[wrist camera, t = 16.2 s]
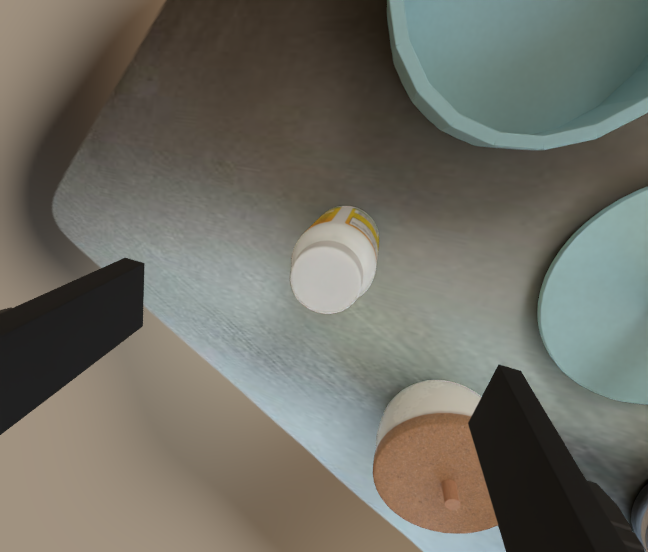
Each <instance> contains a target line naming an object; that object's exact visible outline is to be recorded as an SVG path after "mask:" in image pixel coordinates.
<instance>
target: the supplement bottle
mask: <svg viewBox="0 0 648 552" xmlns="http://www.w3.org/2000/svg"><path fill="white" fill-rule="evenodd" d="M378 248H379V233H378V229H377V226H376V224H375V222H374V221H373V219H372V218H371V217H370V216H369V215H368V214H367V213H366V212H364V211H363V210H361V209H359V208H356V207H352V206H338V207H334V208H332V209H330V210H328V211H326V212H325V213H324V214H323V215H321V216H320V217H319V218H318V219H317V220H316V221H315V222H314V223H313V224H312V225H311V226H310V227H309V229H307V230H306V231H305V232H304V233H303V234H302V236H301V237H300V238H299V239H298V241H297V243H296V244H295V247H294V249H293V253H292V258H291V267H292V269H291V273H290V283H291V287H292V290H293V293H294V295H295V297H296V298H297V299H298V301H299V302H300V303H301V304H302V305H304V306H305V307H306V308H308V309H310V310H312V311H314V312H317V313H321V314H334V313H338V312H341V311H343V310H345V309H347V308H348V307H350V306H351V305H352V304H353V303H354V302H355V300H356V299H357V298H359V297H360V296H361V295H363V294H364V293H365V292H366V291H367V289H368V288H369V287H370V285H371V284H372V282H373V279H374V277H375V273H376V267H377V257H378Z"/></svg>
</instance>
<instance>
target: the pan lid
mask: <svg viewBox="0 0 648 552" xmlns="http://www.w3.org/2000/svg"><path fill="white" fill-rule="evenodd" d="M537 319H538V325H539V332H540V335H541V338H542V341H543V344H544V346H545V348H546V349H547V351H548V353H549V355H550V356H551V358H552V359H553V360H554V362H555V363H556V364H557V366H558V367H559V368H560V369H561V370H562V371H563V372H564V373H565V374H566V375H567V376H568V377H569V378H571V379H572V380H573V381H575V382H576V383H578V384H579V385H580V386H582V387H584V388H586V389H588V390H590V391H592V392H594V393H596V394H599V395H601V396H604V397H607V398H610V399H614V400H618V401H621V402H628V403H634V404H645V405H648V186H647V187H645V188H642V189H639V190H637V191H635V192H633V193H631V194H629V195H627V196H625V197H623V198H621V199H619V200H617V201H616V202H614V203H612V204H611V205H609V206H608V207H606V208H604V209H603V210H601V211H600V212H599V213H597V214H596V215H595V216H593V217H592V218H591V219H589V220H588V221H587V222H586V223H585V224H584V225H583V226H581V227H580V228H579V229H578V230H577V231H576V232H575V233H574V234H573V235H572V236H571V237H570V239H569V240H568V241H567V242H566V243H565V244H564V246H563V247H562V248H561V249H560V251H559V252H558V254H557V255H556V257H555V258H554V260H553V262H552V263H551V265H550V267H549V269H548V271H547V273H546V275H545V278H544V281H543V284H542V287H541V290H540V294H539V300H538V317H537Z"/></svg>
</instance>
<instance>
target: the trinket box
mask: <svg viewBox="0 0 648 552" xmlns="http://www.w3.org/2000/svg"><path fill="white" fill-rule="evenodd" d="M480 399H481V396H480V395H479V394H477V393H476V392H475V391H473V390H471V389H469V388H468V387H465V386H463V385H461V384H458V383H455V382H451V381H446V380H426V381H421V382H418V383H415V384H412V385H410V386H408V387H406V388H405V389H403V390H402V391H400V392H399V393H398V394H397V395H396V396H395V397H394V398H393V399H392V400H391V402H390V403H389V404H388V406H387V407H386V409H385V411H384V413H383V415H382V418H381V421H380V424H379V428H378V432H377V438H376V450H375V455H374V463H373V478H374V483H375V486H376V489H377V491H378V493H379V495H380V496H381V498H382V499H383V501H384V502H385V503H386V504H387V506H388V507H389V508H390V509H392V510H393V511H394V512H395V513H396V514H397V515H399V516H400V517H402V518H403V519H405V520H407V521H409V522H410V523H412V524H415V525H417V526H420V527H422V528H425V529H429V530H433V531H437V532H443V533H472V532H478V531H482V530H486V529H490V528H492V527H495V526H497V525H498V522H497V519H496V516H495V512H494V509H493V506H492V502H491V499H490V496H489V492H488V489H487V486H486V482H485V479H484V476H483V472H482V469H481V466H480V462H479V459H478V456H477V452H476V449H475V445H474V442H473V439H472V435H471V432H470V429H469V425H468V422H469V420H470V418H471V416H472V414H473V412H474V411H475V409H476V407H477V405H478V403H479V401H480Z"/></svg>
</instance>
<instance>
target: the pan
mask: <svg viewBox="0 0 648 552" xmlns="http://www.w3.org/2000/svg"><path fill="white" fill-rule="evenodd" d="M387 22H388V29H389V36H390V45H391V51H392V57H393V63H394V66H395V68H396V70H397V73H398V75H399V78H400V80H401V83H402V85H403V86H404V88H405V90H406V92H407V94H408V96H409V98H410V100H411V101H412V103H413V104H414V105H415V106H416V107H417V108H418V110H419V111H420V112H421V113H422V114H423V115H424V116H425V117H426V118H427V119H428V120H429V121H430V122H431V123H433V124H434V125H435V126H436V127H437V128H438V129H440V130H441V131H443V132H445V133H447V134H449V135H451V136H453V137H455V138H457V139H459V140H462V141H465V142H467V143H469V144H471V145H473V146H480V147H491V148H503V149H514V150H547V149H552V148H557V147H561V146H566V145H571V144H575V143H580V142H585V141H589V140H594V139H597V138H599V137H601V136H603V135H605V134H607V133H609V132H611V131H613V130H615V129H617V128H619V127H621V126H623V125H625V124H627V123H629V122H631V121H633V120H635V119H637V118H639V117H640V116H642V115H644V114H646V113H648V0H387Z"/></svg>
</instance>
